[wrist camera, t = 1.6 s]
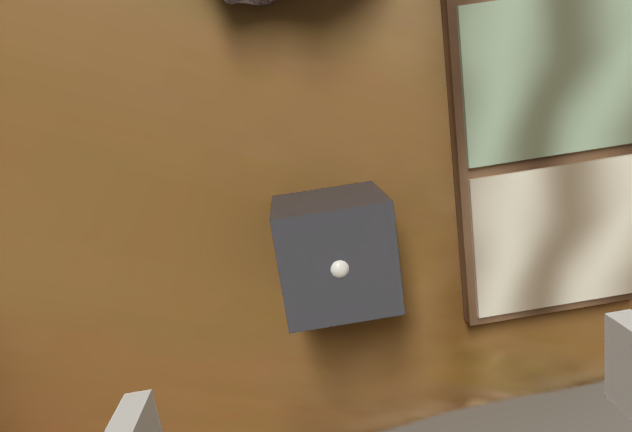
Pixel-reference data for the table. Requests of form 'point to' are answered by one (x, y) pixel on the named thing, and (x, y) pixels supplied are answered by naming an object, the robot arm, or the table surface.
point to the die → (337, 256)
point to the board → (540, 153)
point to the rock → (250, 2)
